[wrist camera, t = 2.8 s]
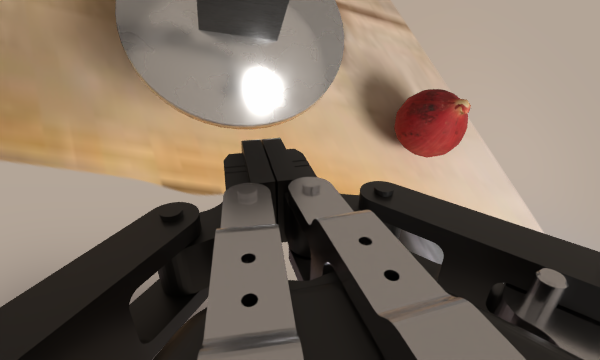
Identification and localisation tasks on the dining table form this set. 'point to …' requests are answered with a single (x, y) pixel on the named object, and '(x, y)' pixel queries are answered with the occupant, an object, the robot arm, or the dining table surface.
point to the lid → (234, 56)
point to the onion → (432, 122)
